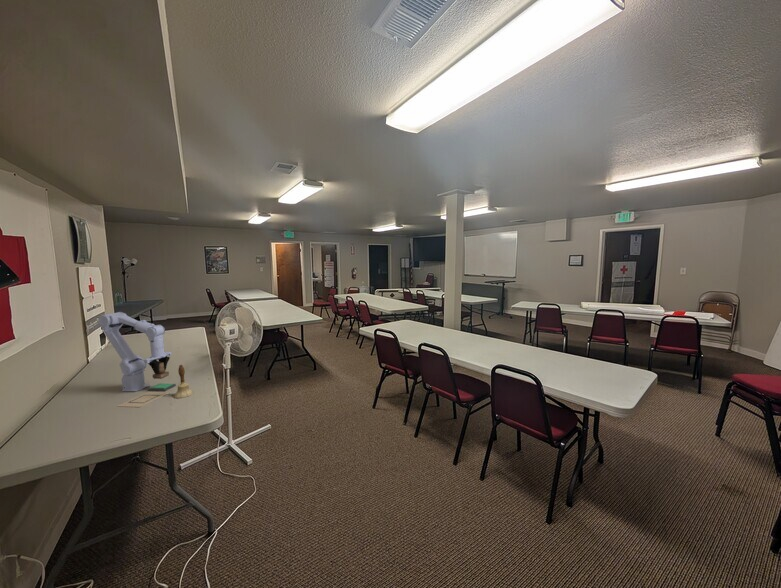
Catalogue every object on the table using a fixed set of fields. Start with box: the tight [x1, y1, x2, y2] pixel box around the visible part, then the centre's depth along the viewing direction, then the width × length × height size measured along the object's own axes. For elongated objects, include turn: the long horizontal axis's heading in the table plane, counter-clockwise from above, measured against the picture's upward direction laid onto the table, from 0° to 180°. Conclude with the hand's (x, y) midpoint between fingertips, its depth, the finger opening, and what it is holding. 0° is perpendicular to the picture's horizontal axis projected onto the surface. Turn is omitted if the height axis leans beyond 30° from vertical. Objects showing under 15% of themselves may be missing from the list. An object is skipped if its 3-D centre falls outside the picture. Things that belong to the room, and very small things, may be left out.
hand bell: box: [173, 364, 194, 399], centre depth 152 cm, size 8×8×16 cm
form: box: [117, 391, 170, 408], centre depth 149 cm, size 13×16×1 cm
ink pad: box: [147, 382, 177, 392], centre depth 162 cm, size 10×7×2 cm
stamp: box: [152, 362, 170, 380], centre depth 161 cm, size 5×5×8 cm
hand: (160, 371), depth 161 cm, fingers closed on stamp, 4 cm apart
